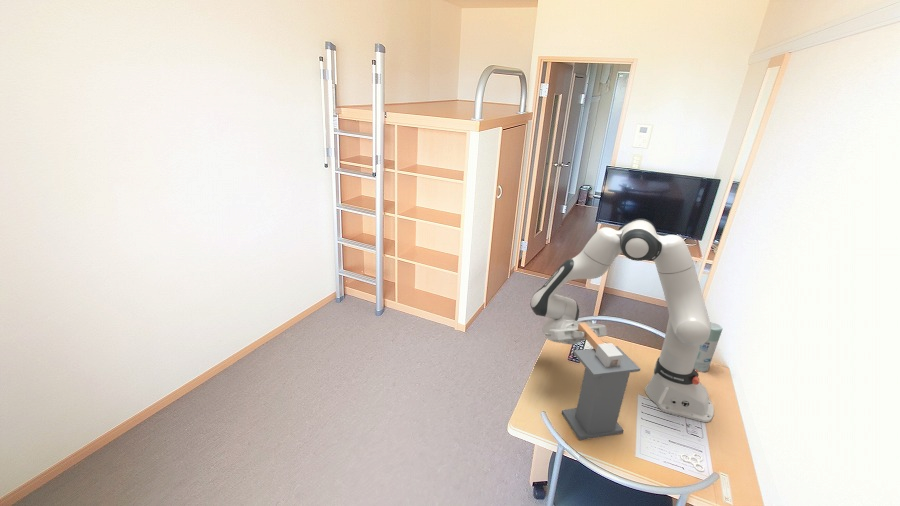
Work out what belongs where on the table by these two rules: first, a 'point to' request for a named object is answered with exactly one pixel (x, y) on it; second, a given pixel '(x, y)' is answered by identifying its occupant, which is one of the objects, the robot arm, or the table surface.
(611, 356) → the bar
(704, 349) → the spray paint can
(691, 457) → the fidget spinner
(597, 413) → the stand
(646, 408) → the table surface
